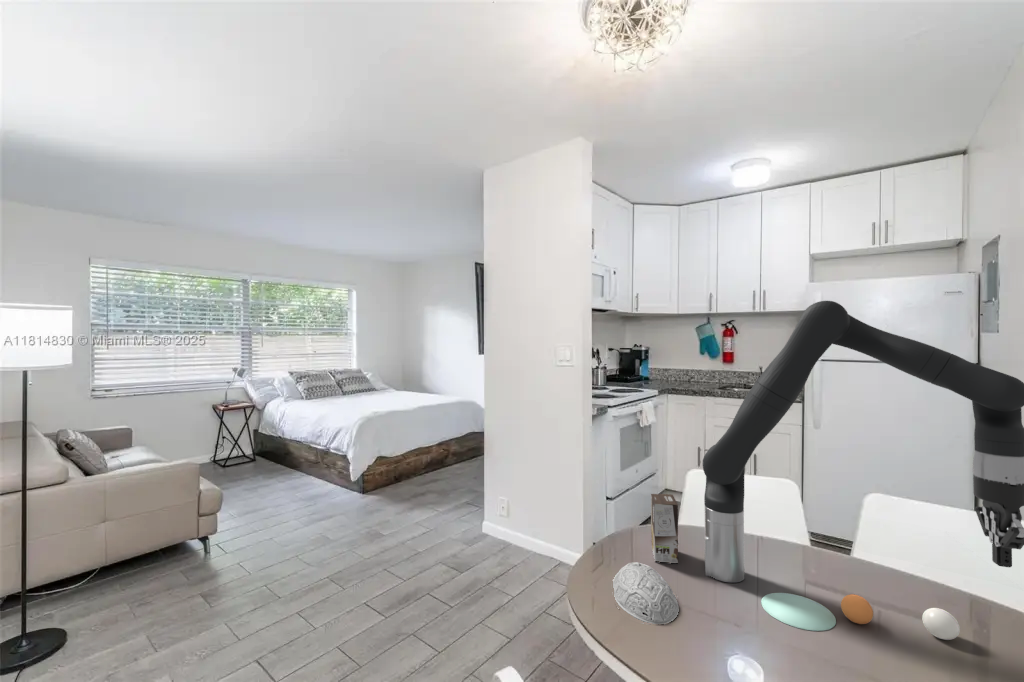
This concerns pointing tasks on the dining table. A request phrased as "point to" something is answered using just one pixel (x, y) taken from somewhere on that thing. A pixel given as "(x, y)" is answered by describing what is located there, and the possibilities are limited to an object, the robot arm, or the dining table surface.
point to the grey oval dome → (645, 594)
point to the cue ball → (940, 623)
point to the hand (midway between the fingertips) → (1002, 565)
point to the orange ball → (857, 609)
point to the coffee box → (664, 527)
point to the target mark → (798, 611)
